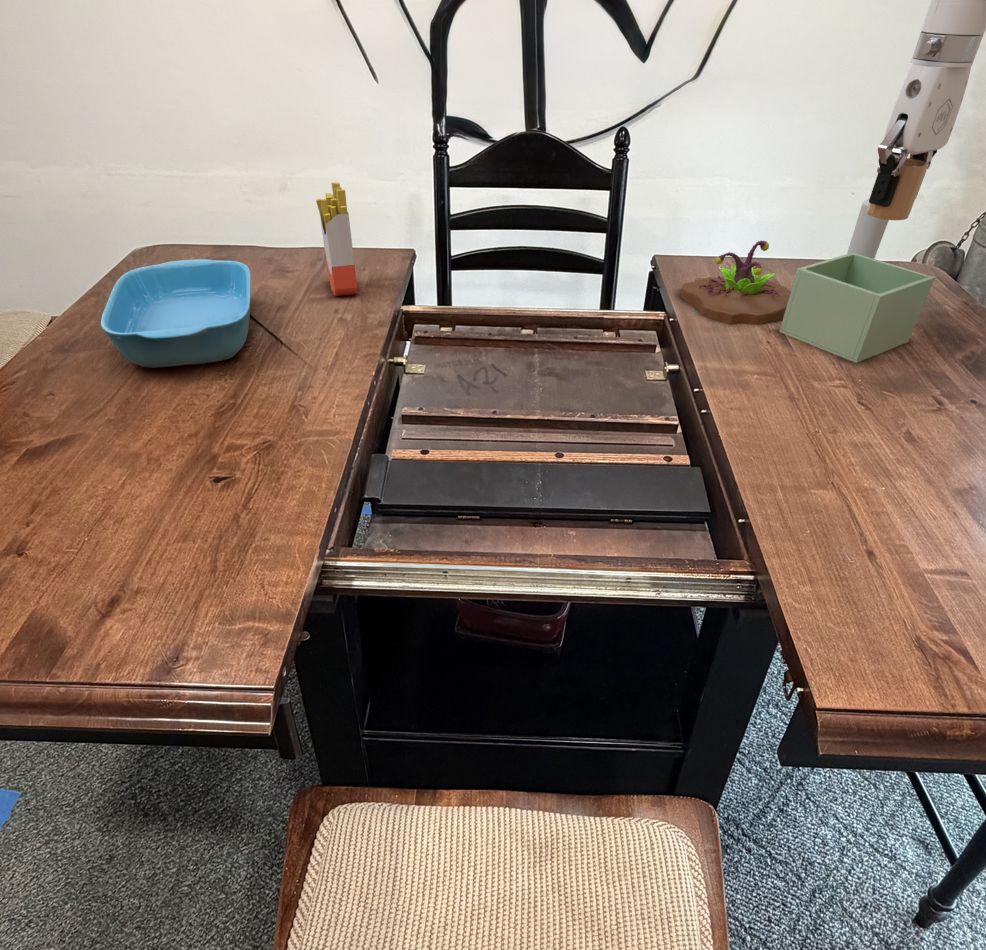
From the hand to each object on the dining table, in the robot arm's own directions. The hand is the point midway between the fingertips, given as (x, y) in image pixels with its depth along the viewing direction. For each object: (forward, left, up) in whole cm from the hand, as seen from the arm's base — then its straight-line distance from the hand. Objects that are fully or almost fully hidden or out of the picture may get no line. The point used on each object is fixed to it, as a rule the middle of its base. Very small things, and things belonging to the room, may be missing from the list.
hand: (892, 200), depth 106 cm
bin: (+1, -1, -22) cm, 22 cm away
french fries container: (+69, +60, -22) cm, 94 cm away
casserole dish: (+65, +90, -22) cm, 113 cm away
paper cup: (0, 0, -2) cm, 2 cm away
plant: (+21, +2, -22) cm, 30 cm away
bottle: (+12, -18, -22) cm, 31 cm away
